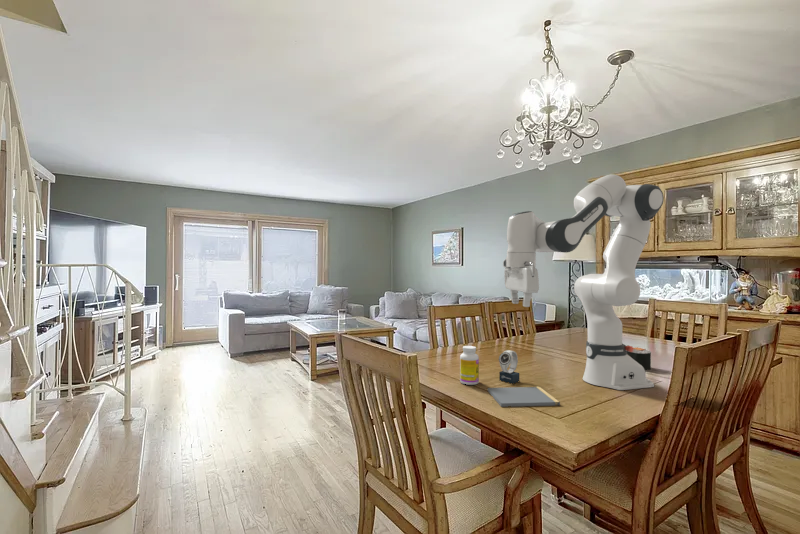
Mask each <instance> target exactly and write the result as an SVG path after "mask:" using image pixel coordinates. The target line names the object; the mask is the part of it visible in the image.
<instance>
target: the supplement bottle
mask: <svg viewBox="0 0 800 534" xmlns="http://www.w3.org/2000/svg"><path fill="white" fill-rule="evenodd" d="M462 351H463V352H462V353H461V354H460V355H459V381H460V383H461V384H463V385H465V384H466V386H475V385H477V384H479V380H480V379H479V377H480V375H479V374H480V373H479V372H480V369H479V368H480V367H479V365H480V364H479V363H480V362H479V361H480V360H479V359H480V357H479V355H478V354H477V353H476V352H477V347H476V346H474V345H473V346H472V345H463V346H462Z"/></svg>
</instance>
